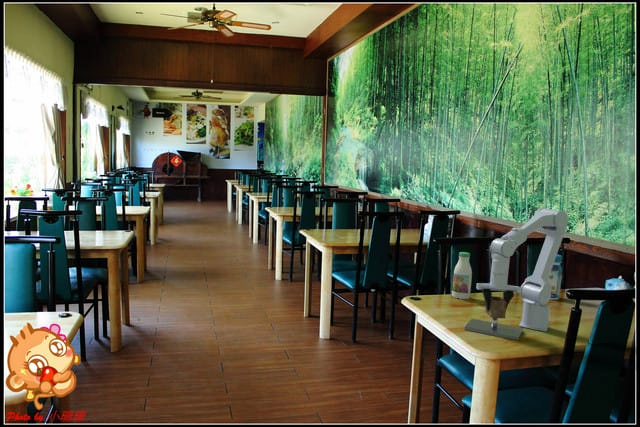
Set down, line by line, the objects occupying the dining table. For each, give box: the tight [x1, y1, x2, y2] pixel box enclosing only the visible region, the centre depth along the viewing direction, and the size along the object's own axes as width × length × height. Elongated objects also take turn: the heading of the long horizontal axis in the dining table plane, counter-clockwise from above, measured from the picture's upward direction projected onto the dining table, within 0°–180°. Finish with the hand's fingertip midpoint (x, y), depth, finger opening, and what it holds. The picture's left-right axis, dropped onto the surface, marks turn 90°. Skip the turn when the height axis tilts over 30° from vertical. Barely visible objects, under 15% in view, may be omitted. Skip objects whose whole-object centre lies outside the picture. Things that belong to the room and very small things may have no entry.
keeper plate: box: [464, 317, 524, 342], centre depth 188 cm, size 18×12×5 cm, turn 62°
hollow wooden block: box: [485, 295, 507, 319], centre depth 187 cm, size 5×7×6 cm
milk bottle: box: [451, 251, 473, 300], centre depth 232 cm, size 8×8×20 cm
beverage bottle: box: [548, 253, 563, 301], centre depth 242 cm, size 8×8×20 cm
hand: (495, 310), depth 187 cm, fingers closed on hollow wooden block, 5 cm apart
